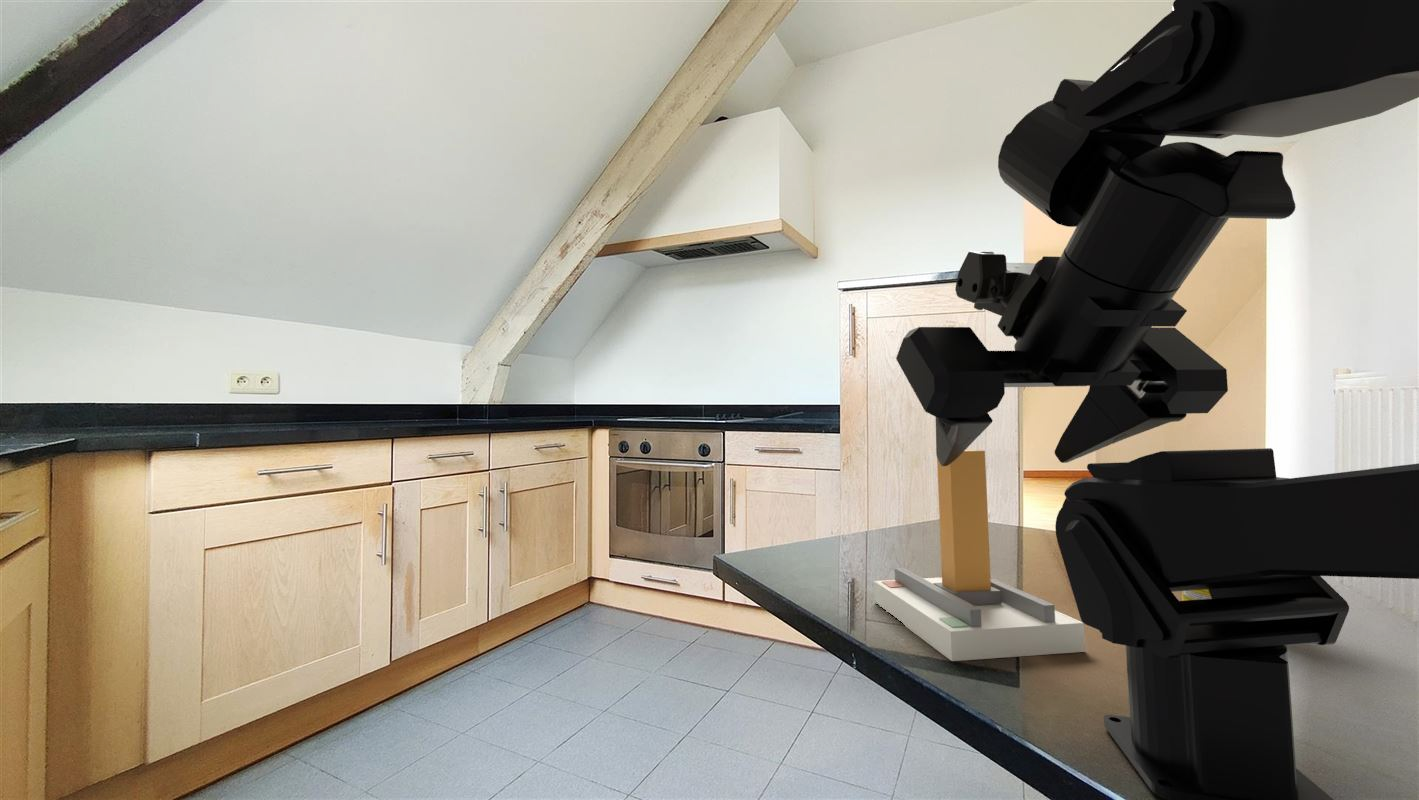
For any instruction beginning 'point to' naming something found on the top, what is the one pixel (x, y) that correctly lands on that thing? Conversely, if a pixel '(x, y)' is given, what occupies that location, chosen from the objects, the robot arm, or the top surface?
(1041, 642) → the plate
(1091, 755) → the top surface
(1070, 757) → the top surface
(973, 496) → the handle
